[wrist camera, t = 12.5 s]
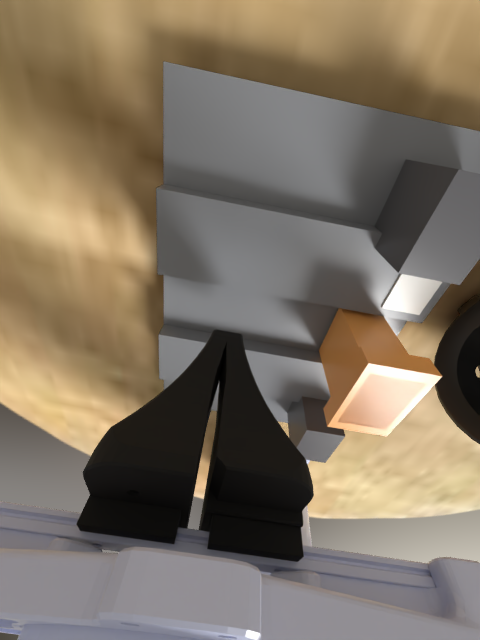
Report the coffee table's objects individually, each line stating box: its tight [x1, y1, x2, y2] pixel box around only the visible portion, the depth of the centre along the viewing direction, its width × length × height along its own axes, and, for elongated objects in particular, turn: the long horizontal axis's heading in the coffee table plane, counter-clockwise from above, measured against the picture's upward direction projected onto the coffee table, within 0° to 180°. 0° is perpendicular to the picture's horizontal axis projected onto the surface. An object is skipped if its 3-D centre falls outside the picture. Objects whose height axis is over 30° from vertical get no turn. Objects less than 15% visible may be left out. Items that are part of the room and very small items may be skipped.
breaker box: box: [156, 61, 480, 463], centre depth 15 cm, size 20×14×6 cm
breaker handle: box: [319, 308, 442, 436], centre depth 13 cm, size 4×3×5 cm
